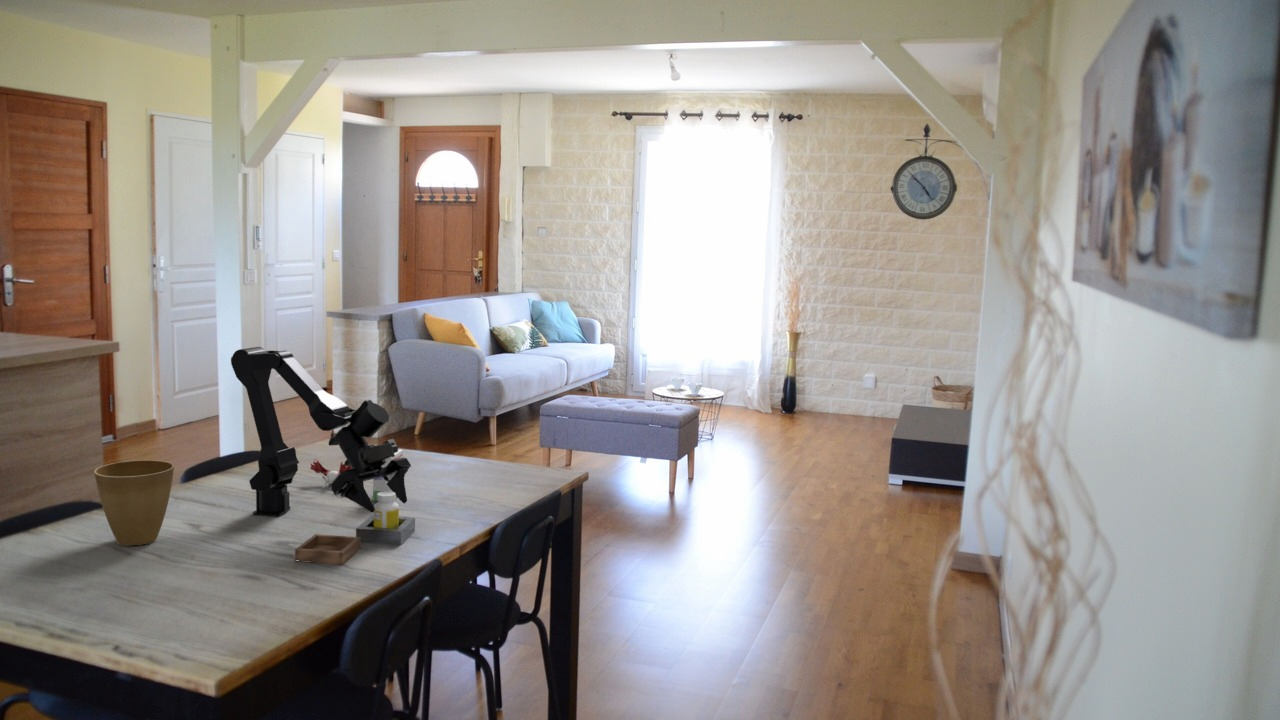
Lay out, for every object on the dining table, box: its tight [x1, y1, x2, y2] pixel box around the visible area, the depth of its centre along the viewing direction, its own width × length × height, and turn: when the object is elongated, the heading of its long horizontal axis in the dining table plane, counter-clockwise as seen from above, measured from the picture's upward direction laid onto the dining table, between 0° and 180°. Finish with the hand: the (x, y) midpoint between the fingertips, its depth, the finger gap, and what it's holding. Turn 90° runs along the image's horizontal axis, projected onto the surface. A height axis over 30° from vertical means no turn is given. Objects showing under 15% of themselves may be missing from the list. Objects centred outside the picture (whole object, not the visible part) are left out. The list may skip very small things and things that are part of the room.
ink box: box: [372, 448, 404, 502], centre depth 245 cm, size 8×5×12 cm, turn 174°
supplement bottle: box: [373, 491, 400, 529], centre depth 215 cm, size 5×5×10 cm
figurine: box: [310, 457, 352, 487], centre depth 254 cm, size 15×12×7 cm
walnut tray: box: [294, 533, 362, 566], centre depth 202 cm, size 10×10×2 cm
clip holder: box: [355, 514, 416, 546], centre depth 215 cm, size 10×10×3 cm
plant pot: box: [93, 459, 175, 546], centre depth 205 cm, size 15×15×16 cm
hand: (389, 506), depth 214 cm, fingers open, 9 cm apart
